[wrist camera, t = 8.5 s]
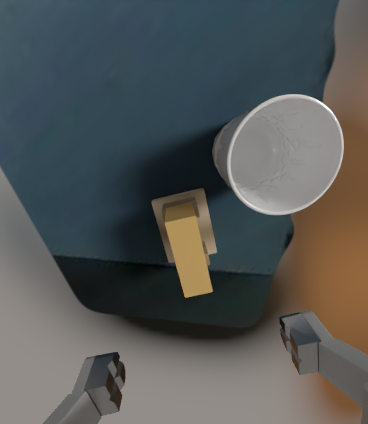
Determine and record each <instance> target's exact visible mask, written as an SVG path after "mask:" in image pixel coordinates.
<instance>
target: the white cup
mask: <svg viewBox="0 0 368 424" xmlns="http://www.w3.org/2000/svg"><path fill="white" fill-rule="evenodd" d="M343 149H344V142H343V134H342V130H341V127H340V125H339V122H338V120H337V118H336V117H335V115H334V114H333V112H332V111H331V110H330V109H329V108H328V107H327V106H326V105H325V104H323V103H322V102H320V101H319V100H317V99H315V98H312V97H309V96H305V95H299V94H289V95H282V96H278V97H275V98H272V99H270V100H267V101H265V102H263V103H262V104H260V105H258V106H256V107H254V108H252V109H250V110H248V111H246V112H244V113H242V114H241V115H239V116H238V117H236V118H234V119H233V120H232V121H230V122H229V123H228V124H226V125H224V126H223V128H222V129H221V130H220V132H219V133H218V134H217V136H216V137H215V140H214V144H213V149H212V156H213V161H214V165H215V167H216V168H217V170H218V172H219V174H220V175H221V177H222V178H223V180H224V181H225V182H226V184H227V185H228V186H229V187H230V188H231V189H232V191H233V192H234V193H235V194H236V195H237V197H238V198H239V199H240V200H241V201H242V202H243V203H244V204H245V205H247V206H248V207H250V208H251V209H253V210H255V211H257V212H260V213H264V214H269V215H285V214H290V213H294V212H297V211H299V210H301V209H304V208H306V207H307V206H309V205H311V204H312V203H314V202H315V201H316V200H318V199H319V198H320V197H321V196H322V195H323V194H324V193H325V192H326V191H327V189H328V188H329V187H330V185H331V184H332V183H333V181H334V179H335V177H336V175H337V173H338V171H339V168H340V165H341V162H342V157H343Z"/></svg>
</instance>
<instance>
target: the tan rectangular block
mask: <svg viewBox="0 0 368 424" xmlns="http://www.w3.org/2000/svg"><path fill="white" fill-rule="evenodd" d="M165 226H166V230H167V234H168V237H169V241H170V245H171V248H172V252H173V255H174V259H175V263H176V267H177V270H178V274H179V278H180V281H181V285H182V289H183V292H184V296H185V298H186V297H191V296H195V295H200V294H205V293H209V292H213V291H212V286H211V282H210V277H209V273H208V268H207V264H206V259H205V255H204V250H203V246H202V241H201V237H200V232H199V228H198V223H197V219H196V214H195V211H194V207H193V203H192V202H190V203H186V204H181V205H177V206H173V207H168V208H166V214H165Z"/></svg>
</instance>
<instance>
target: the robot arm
mask: <svg viewBox="0 0 368 424" xmlns="http://www.w3.org/2000/svg"><path fill="white" fill-rule="evenodd" d="M279 323H280V325H281V329H280V333H281V338H282V341H283V343H284V345H285V348H286V350H287V351H288V352H289V353H291V355H292V361H293V363H294V365H295V367H296V369H297V371H298V373H299V374H300V375H302V374H308V373H314V372H319V373H320V374H321V375H323V376H324V377H325V378H326V379H327V380H329V381H330V382H331V383H333V384H334V385H335V386H336V387H337V388H339V389H340V390H341V391H342V392H344V393H345V394H346V395H347V396H349V397H350V398H351V399H352V400H354V401H355V402H356V403H357V404H359V405H360V406H361V407H362V419H361V424H368V355H366V354H364V353H363V352H360V351H359V350H357V349H355V348H353V347H352V346H350V345H348V344H346V343H344V342H343V341H341V340H339V339H333V337H332V336H331V335H330V333H329V332H328V331H327V330H326V329H325V327H324V326H323V324H322V323H321V322H320V321H319V319H318V318H317V317H316V315H315V314H314V313H313V312H312V311H311V310H309V311H304V312H300V313H294V314H290V315H285V316H282V317H279ZM119 358H120V356H119V354H118V352H114V353H108V354H103V355H97V356H93V357H87V358H86V359H85V361H84V363H83V366H82V368H81V371H80V374H79V376H78V379H77V381H76V384H75V386H74V389H73V391H72V394H69V395H68V396H67V397H66V398H65V399H64V400H63V401H62V403H61V404H60V405H59V406H58V407H57V408H56V409H55V411H54V412H53V413H52V414H51V415H50V416H49V417H48V419H47V420H46V421H45V422H44V423H43V424H97V423H98V422H99V420H100V419H101V416H103V415H107V414H112V413H116V412H119V410H120V404H121V399H122V394H121V392H120V390H121V389H122V387H123V386H124V383H125V367H124V364H123V363H122V362H121V361H119Z"/></svg>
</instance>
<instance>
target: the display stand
mask: <svg viewBox="0 0 368 424" xmlns="http://www.w3.org/2000/svg"><path fill="white" fill-rule="evenodd" d="M190 202H192V203H193V207H194V211H195V214H196V219H197V223H198V228H199V232H200V237H201V241H202V246H203V250H204V255H205V259H206V264H207V265H210V260H209V256H208V254H213V253H217V250H216V245H215V240H214V235H213V230H212V226H211V221H210V216H209V211H208V206H207V201H206V196H205V191H204V189H203V188H200V189H196V190H192V191H187V192H183V193H179V194H174V195H170V196H166V197H162V198H157V199H153V200H152V202H151V203H152V206H153V210H154V213H155V217H156V220H157V224H158V227H159V230H160V234H161V237H162V241H163V244H164V248H165V251H166V255H167V258H168V262H169V263H173V262H175V259H174V255H173V252H172V248H171V245H170V241H169V237H168V234H167V230H166V226H165V214H166V208H168V207H173V206H177V205H181V204H186V203H190Z"/></svg>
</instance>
